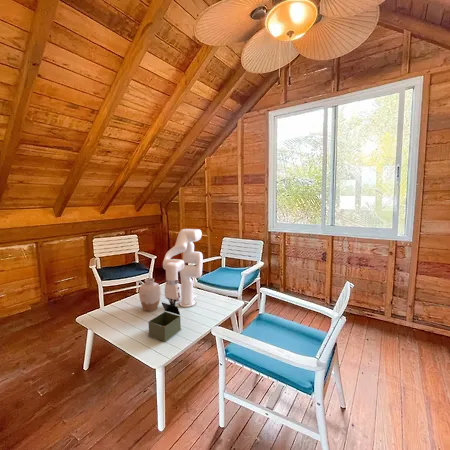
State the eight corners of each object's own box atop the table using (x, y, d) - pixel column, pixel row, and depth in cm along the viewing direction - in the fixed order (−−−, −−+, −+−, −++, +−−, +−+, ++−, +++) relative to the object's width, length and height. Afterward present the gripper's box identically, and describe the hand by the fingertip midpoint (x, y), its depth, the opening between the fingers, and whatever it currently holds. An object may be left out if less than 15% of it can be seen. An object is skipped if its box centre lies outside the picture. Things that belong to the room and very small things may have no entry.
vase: (162, 302, 201) (161, 275, 197) (160, 312, 185) (159, 283, 182) (141, 304, 198) (140, 276, 195) (138, 314, 183) (136, 284, 179)
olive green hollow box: (165, 324, 169) (164, 311, 168) (180, 329, 163) (180, 316, 162) (148, 335, 156) (148, 321, 154) (165, 341, 150) (164, 327, 148)
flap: (164, 310, 167) (165, 310, 168) (180, 315, 161) (180, 314, 162) (161, 302, 164) (161, 302, 164) (177, 307, 158) (177, 306, 158)
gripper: (184, 281, 162) (185, 308, 164) (167, 277, 169) (167, 303, 171) (177, 285, 155) (178, 313, 158) (159, 281, 162) (160, 308, 165)
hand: (172, 308), depth 164 cm, fingers closed
